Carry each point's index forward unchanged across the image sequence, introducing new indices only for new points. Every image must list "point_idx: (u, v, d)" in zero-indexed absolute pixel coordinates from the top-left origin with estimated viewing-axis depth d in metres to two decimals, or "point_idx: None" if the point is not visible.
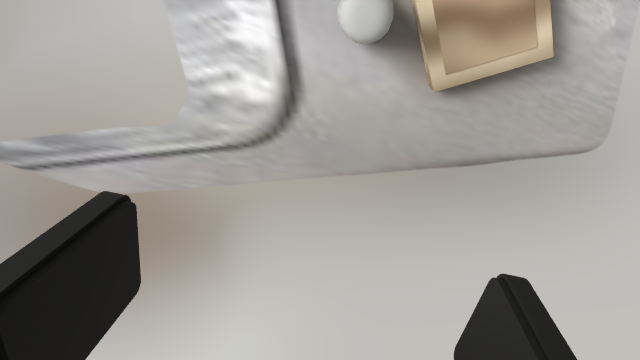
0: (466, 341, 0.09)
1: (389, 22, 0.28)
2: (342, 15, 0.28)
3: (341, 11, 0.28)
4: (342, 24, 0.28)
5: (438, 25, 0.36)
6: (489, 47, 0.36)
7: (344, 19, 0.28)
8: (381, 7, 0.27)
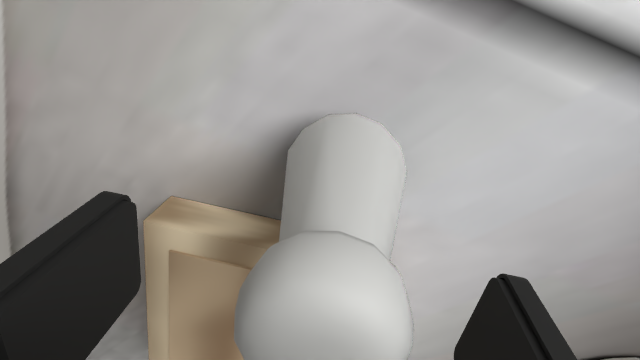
0: (466, 341, 0.09)
1: None
2: (361, 299, 0.07)
3: (377, 299, 0.07)
4: (334, 282, 0.07)
5: None
6: (191, 317, 0.22)
7: (345, 301, 0.07)
8: None
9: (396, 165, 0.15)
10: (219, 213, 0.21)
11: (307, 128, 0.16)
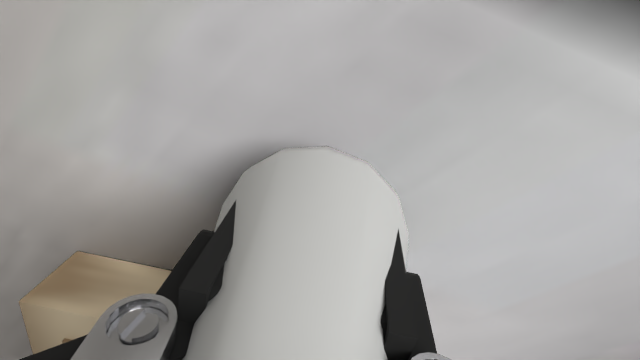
0: None
1: None
2: None
3: None
4: None
5: None
6: None
7: None
8: None
9: (393, 243, 0.09)
10: (142, 277, 0.15)
11: (249, 172, 0.10)
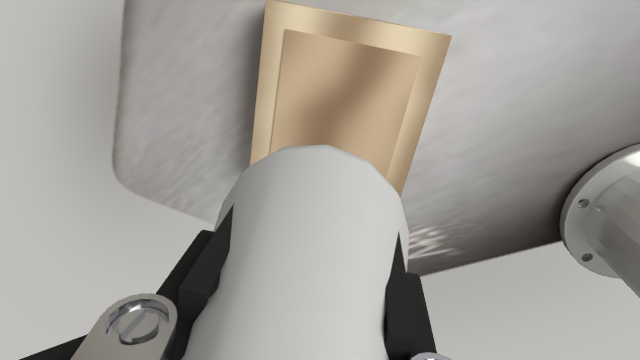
0: None
1: None
2: None
3: None
4: None
5: (361, 46, 0.23)
6: (296, 102, 0.25)
7: None
8: None
9: (393, 242, 0.09)
10: (321, 9, 0.25)
11: (249, 170, 0.10)
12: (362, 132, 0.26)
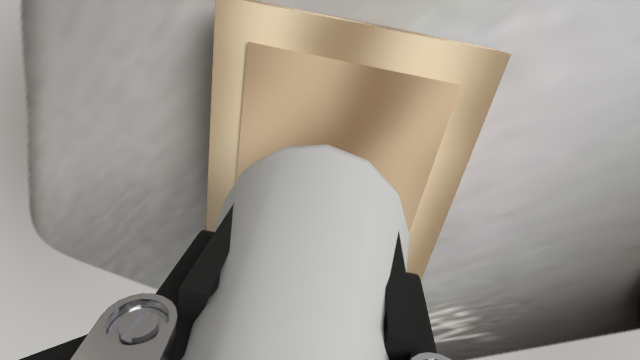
0: None
1: None
2: None
3: None
4: None
5: (366, 69, 0.15)
6: (268, 150, 0.17)
7: None
8: None
9: (393, 241, 0.09)
10: (305, 11, 0.16)
11: (249, 170, 0.10)
12: None
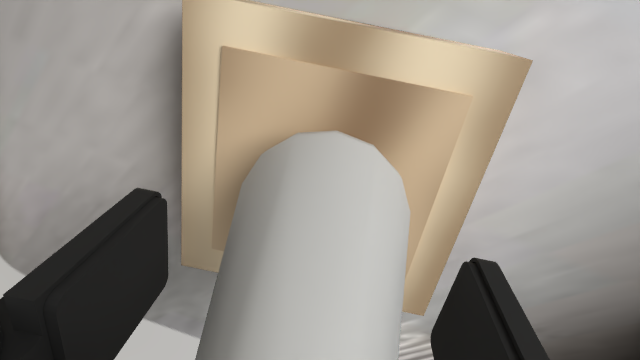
0: (441, 323, 0.10)
1: None
2: None
3: None
4: None
5: (361, 78, 0.13)
6: (249, 170, 0.15)
7: None
8: None
9: (396, 213, 0.10)
10: (291, 9, 0.14)
11: (266, 153, 0.11)
12: None
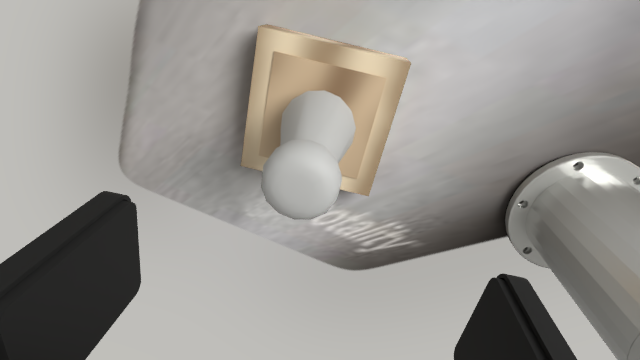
0: (466, 341, 0.09)
1: (274, 208, 0.19)
2: (317, 160, 0.18)
3: (323, 161, 0.18)
4: (305, 153, 0.18)
5: (337, 68, 0.28)
6: (281, 111, 0.30)
7: (310, 161, 0.18)
8: (297, 211, 0.19)
9: (346, 120, 0.25)
10: (305, 34, 0.29)
11: (294, 99, 0.27)
12: None
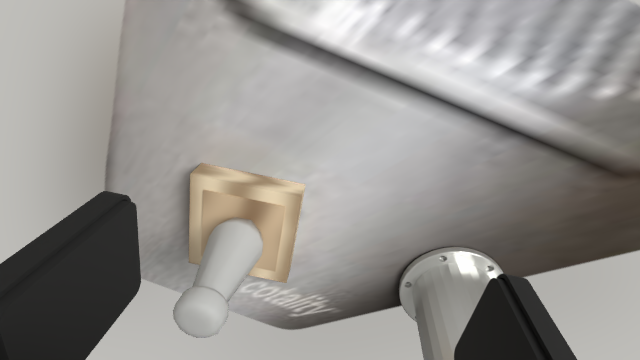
0: (466, 341, 0.09)
1: (184, 331, 0.29)
2: (204, 307, 0.28)
3: (208, 306, 0.28)
4: (197, 302, 0.28)
5: (249, 200, 0.38)
6: (213, 227, 0.40)
7: (199, 307, 0.28)
8: (197, 335, 0.29)
9: (249, 247, 0.35)
10: (228, 171, 0.40)
11: (216, 228, 0.37)
12: None
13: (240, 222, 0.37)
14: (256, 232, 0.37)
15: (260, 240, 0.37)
